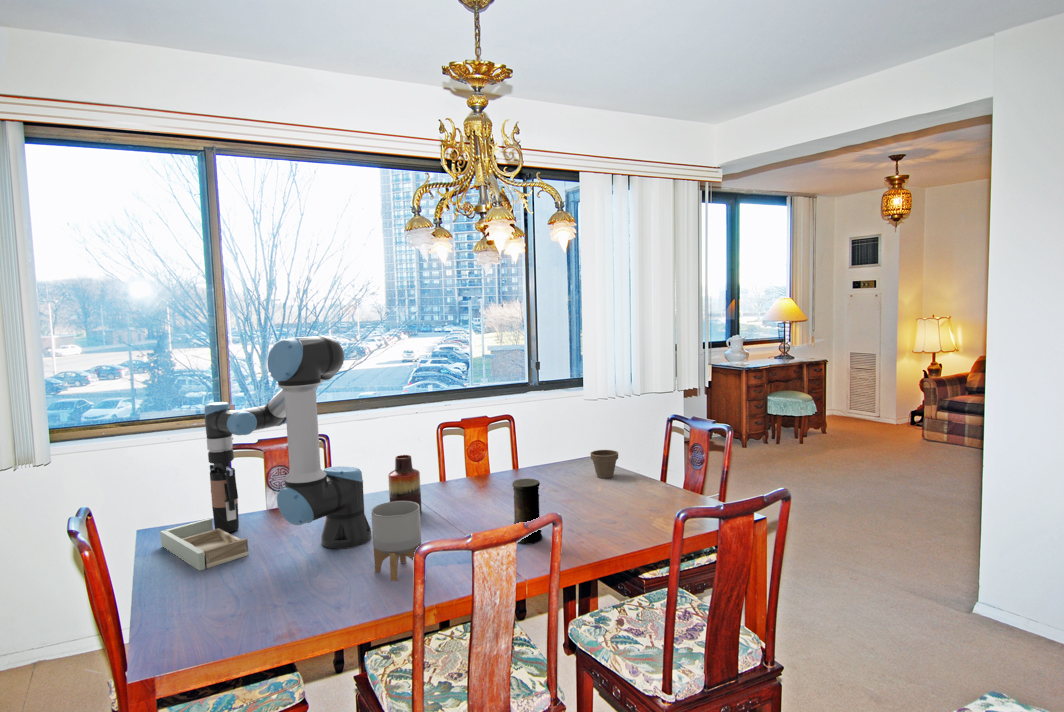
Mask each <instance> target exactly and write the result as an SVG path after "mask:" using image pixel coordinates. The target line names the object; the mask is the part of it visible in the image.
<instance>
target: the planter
mask: <svg viewBox="0 0 1064 712" xmlns="http://www.w3.org/2000/svg"><path fill="white" fill-rule="evenodd" d="M371 525H372V526H371V527H372V529H371V530H372V544H373V545H372V546H373V560H374V573H380V572H381V571H382V564H383V562H384V561H385V560H386V559H387V558H389V571H390V582H397V580H398V568H399V567H398V566H399V563H400V562H407V558H408V559H410V560H411V561H413V557H414V552H415V550H416V548H417V547H418V546H420V545H422V529H421V528H422V527H421V514H420V506H419V504H417V503H415V502H411V501H393V502H390V501H387V502H384V503H380V504H378V505H376V506H374V507H373V508H372V509H371Z"/></svg>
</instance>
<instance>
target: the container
mask: <svg viewBox="0 0 1064 712" xmlns="http://www.w3.org/2000/svg"><path fill="white" fill-rule="evenodd" d="M540 485H541V484H540V481H539V480H537V479H535V478H519V479H516V480H514V481H512V485H511V486H512V488H513V507H514V508H513V509H514V513H513V514H514V515H513V517H514V520H513V525H514V524H516V523H519V522H527V521H531V520H533V519H536V518H538V517H539V518H540V493H539V492H540V491H539V489H540ZM542 532H543V531H542V529H541V530H538V531H537V532H534V533H532V534H531V535H529V536H528V537H526V538H524V539H522V540H521V541H520V542H519V543H518V544H521V543H522V545H527V544H526V543H533V544H536V543H535V542H537V543H539V542H541V541H542V539H543V534H542ZM538 541H539V542H538ZM523 543H524V544H523Z"/></svg>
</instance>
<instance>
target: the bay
mask: <svg viewBox="0 0 1064 712" xmlns="http://www.w3.org/2000/svg"><path fill="white" fill-rule="evenodd" d="M213 527H214V526H213V519H212V518H211V517H210V518H206V519H202V520H201V519H200V520H197V521H194V522H191V523H185V524H182V525H180V526H175V527H172V528H168V529H167V528H166V529H164V530H161V531H159V532H160V533H159V534H160V543H161V545H160V546H161V548H163V547H164V548H166V549H167V550H166V549H165V550H166V551H168V550H169V551H170V552H169V551H168V552H169V553H171V552H172V553H173V555H174V554H175V555H176V556H175V555H174V556H175V557H177V556H178V557H177V558H179V559H180V558H181V559H180V560H182V561H183V560H184V562H185V563H187V564H189V565H190V566H191V567H193V568H194V569H197V570H198V571H199V572H201V571H203V570H206V567H205V560H204V552H203V551H201V550H199V549H198V548H196V547H194V546H193V545H191V544H189V543H187V542H186V541H184V540H182V539H183V538H186V537H190V536H193V535H197V534H201V533H204V532H208V531H211V530H214V529H213ZM164 548H163V549H164ZM172 553H171V554H172Z"/></svg>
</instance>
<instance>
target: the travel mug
mask: <svg viewBox="0 0 1064 712" xmlns="http://www.w3.org/2000/svg"><path fill="white" fill-rule="evenodd" d="M230 468H231V469H235V468H234V467H230ZM209 479H210V481H209V482H210V494H211V507H212V516H213V522H214V530H215V529H218V528H219V529H221V530H223V531H225V532H227V533H231V532H235V531H237V530H238V529H239V527H240V524H239V522H240V521H239V519H240V518H239V500H238V499H236V500H235V508H236V519H234V520H230V521H227V514H226V502H225V500H227V499H226V495H225V488H224V483H225V484H227V482H226V475H225V473H214V471H213V470H212V471H209ZM235 480H236V477H235Z"/></svg>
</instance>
